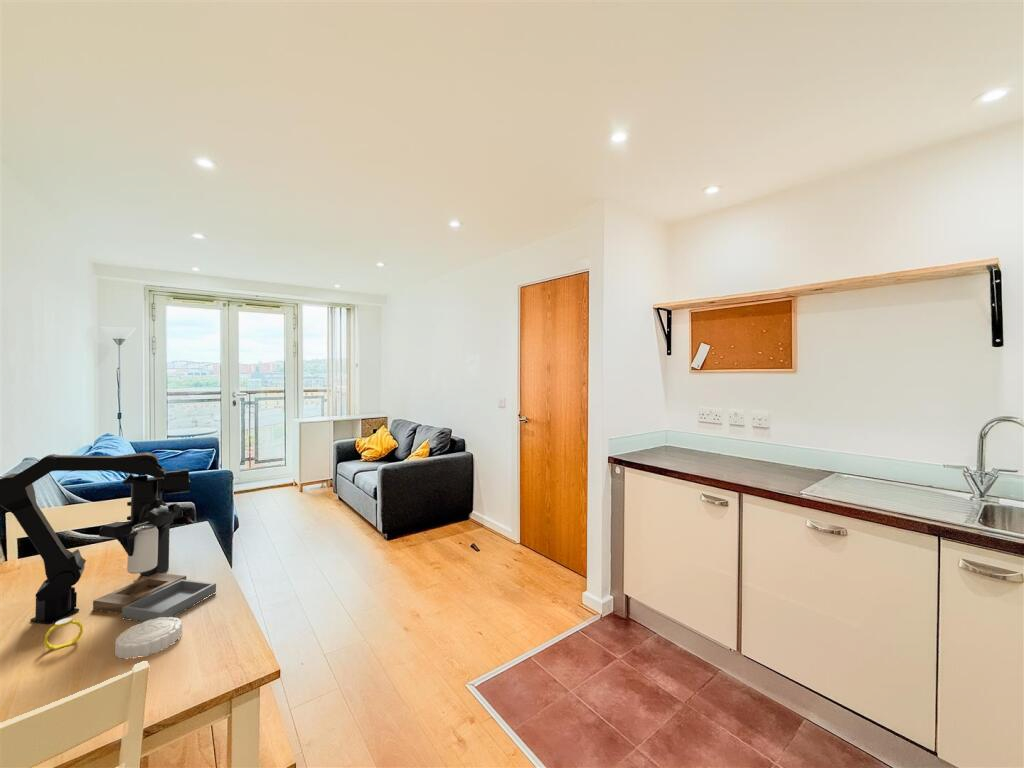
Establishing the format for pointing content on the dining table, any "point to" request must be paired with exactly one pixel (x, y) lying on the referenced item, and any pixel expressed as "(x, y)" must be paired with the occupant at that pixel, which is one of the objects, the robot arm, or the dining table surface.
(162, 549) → the wine bottle
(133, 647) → the mooncake
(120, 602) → the holder
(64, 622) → the watch
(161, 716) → the dining table surface
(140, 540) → the can
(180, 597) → the tray
